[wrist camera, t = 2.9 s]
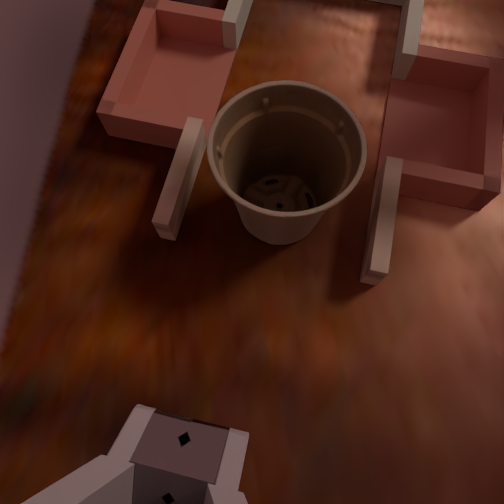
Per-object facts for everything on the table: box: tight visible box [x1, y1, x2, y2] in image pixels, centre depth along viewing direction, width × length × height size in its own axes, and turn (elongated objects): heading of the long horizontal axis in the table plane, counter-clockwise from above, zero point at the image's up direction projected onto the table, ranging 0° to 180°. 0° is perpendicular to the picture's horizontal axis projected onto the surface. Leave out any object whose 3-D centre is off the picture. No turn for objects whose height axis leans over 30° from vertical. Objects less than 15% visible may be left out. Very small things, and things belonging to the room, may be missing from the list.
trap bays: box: [96, 0, 504, 211], centre depth 34 cm, size 12×30×3 cm, turn 77°
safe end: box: [222, 0, 424, 80], centre depth 38 cm, size 10×16×3 cm, turn 77°
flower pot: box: [207, 80, 367, 245], centre depth 29 cm, size 9×9×9 cm
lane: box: [151, 117, 403, 286], centre depth 31 cm, size 9×16×3 cm, turn 77°
